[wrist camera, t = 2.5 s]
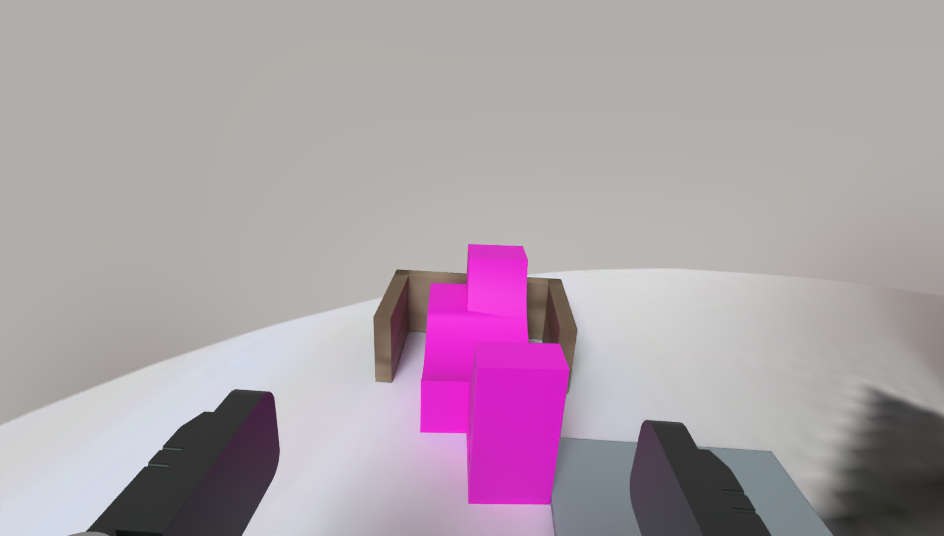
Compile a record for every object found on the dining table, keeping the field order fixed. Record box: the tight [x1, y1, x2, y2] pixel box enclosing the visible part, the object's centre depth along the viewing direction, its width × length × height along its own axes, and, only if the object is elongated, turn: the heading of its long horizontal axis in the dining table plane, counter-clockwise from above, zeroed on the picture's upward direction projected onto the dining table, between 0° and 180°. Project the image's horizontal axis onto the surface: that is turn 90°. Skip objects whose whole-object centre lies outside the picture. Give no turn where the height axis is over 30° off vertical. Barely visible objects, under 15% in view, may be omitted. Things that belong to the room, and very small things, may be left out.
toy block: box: [420, 244, 570, 504], centre depth 28 cm, size 15×6×8 cm, turn 2°
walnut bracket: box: [374, 270, 577, 393], centre depth 33 cm, size 12×8×4 cm, turn 88°
